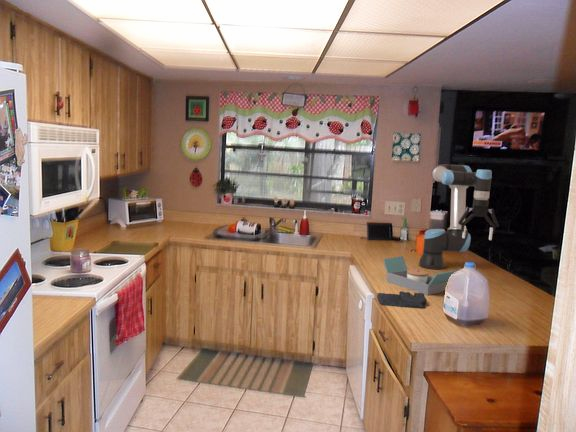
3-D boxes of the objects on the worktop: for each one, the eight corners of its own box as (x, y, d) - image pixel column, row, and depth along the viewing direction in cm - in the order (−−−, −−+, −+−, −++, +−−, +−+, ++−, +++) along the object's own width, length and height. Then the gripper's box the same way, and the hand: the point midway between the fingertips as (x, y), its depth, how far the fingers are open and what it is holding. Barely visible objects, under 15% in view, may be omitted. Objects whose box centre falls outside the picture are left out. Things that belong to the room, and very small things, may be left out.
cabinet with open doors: (381, 279, 252) (382, 258, 250) (400, 276, 261) (402, 256, 260) (434, 297, 225) (436, 273, 223) (453, 292, 234) (456, 270, 233)
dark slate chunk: (375, 296, 223) (376, 286, 223) (421, 299, 222) (422, 290, 221) (378, 306, 208) (379, 296, 208) (429, 310, 207) (430, 300, 206)
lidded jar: (401, 283, 246) (403, 266, 245) (418, 282, 250) (420, 265, 249) (413, 289, 236) (415, 271, 235) (431, 288, 240) (433, 270, 239)
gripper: (458, 198, 243) (454, 238, 245) (508, 201, 240) (503, 242, 242) (454, 196, 250) (450, 235, 253) (503, 200, 247) (499, 239, 250)
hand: (476, 238), depth 248 cm, fingers open, 13 cm apart
